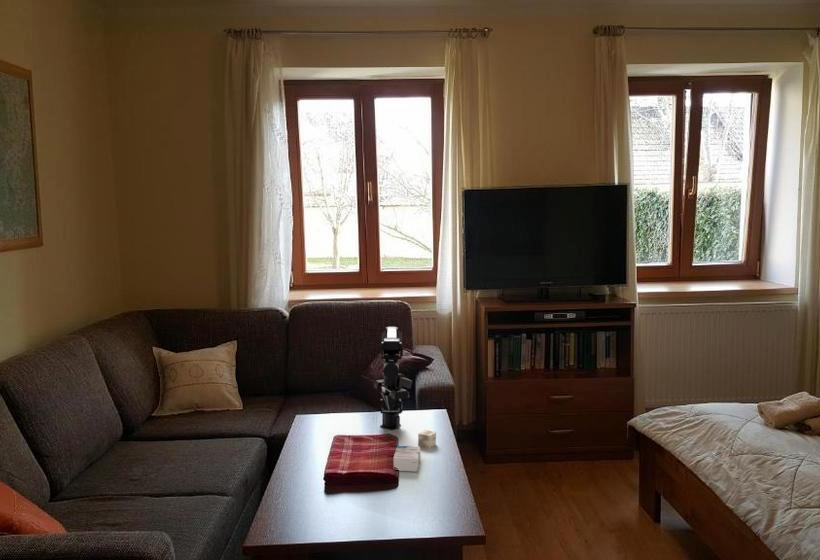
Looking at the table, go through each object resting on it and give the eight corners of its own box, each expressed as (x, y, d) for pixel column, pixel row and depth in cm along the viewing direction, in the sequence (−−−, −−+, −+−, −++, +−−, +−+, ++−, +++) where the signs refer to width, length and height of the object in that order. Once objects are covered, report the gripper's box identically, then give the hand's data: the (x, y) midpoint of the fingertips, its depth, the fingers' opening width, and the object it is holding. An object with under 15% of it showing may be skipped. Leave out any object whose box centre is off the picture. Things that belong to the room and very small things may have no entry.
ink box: (397, 457, 229) (392, 471, 217) (397, 444, 228) (393, 457, 217) (420, 458, 228) (417, 472, 216) (420, 445, 227) (417, 459, 216)
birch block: (418, 446, 241) (418, 433, 240) (424, 441, 245) (424, 429, 244) (429, 448, 238) (429, 436, 238) (435, 444, 242) (436, 432, 242)
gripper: (421, 374, 238) (420, 414, 240) (398, 363, 254) (397, 401, 256) (395, 378, 233) (395, 419, 235) (373, 366, 249) (372, 404, 251)
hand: (390, 410), depth 244 cm, fingers closed
